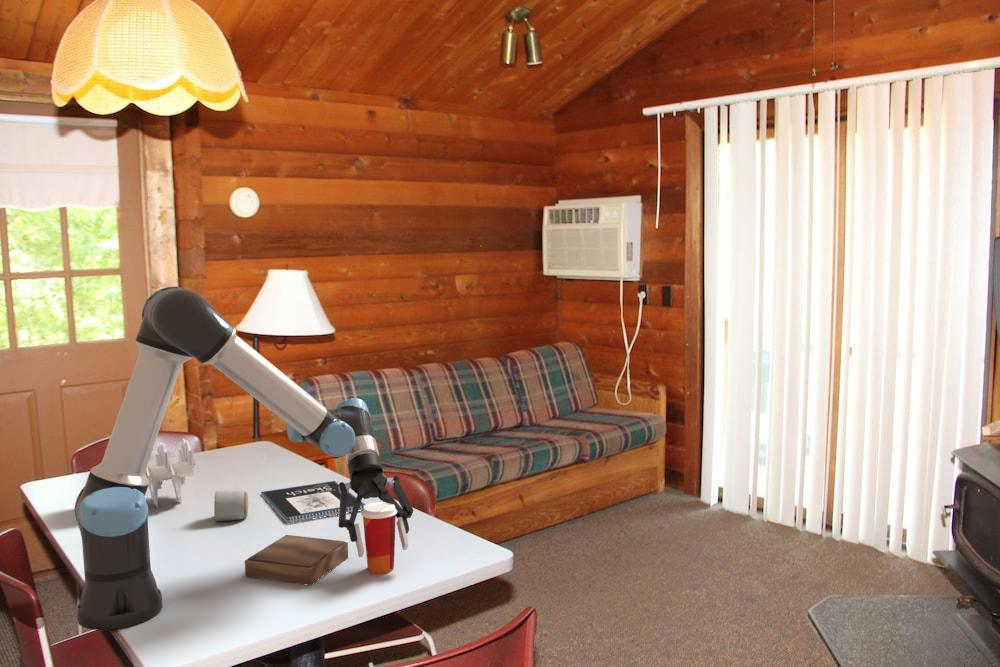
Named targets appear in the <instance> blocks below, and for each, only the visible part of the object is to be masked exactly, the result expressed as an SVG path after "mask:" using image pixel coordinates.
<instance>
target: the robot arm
mask: <svg viewBox="0 0 1000 667" xmlns="http://www.w3.org/2000/svg"><path fill="white" fill-rule="evenodd" d="M144 302H145V303H144V304H143V307H142V309H141V324H140V326H139V329H138V332H137V335H136V338H135V341H134V343H135V345H136V346H137V348H138V350H139V351H138V352H139V353H138V356H137V359H136V362H135V364H134V369H133V371H132V374H131V376H130V380H129V381H128V384H127V388H126V391H125V395H124V397H123V400H122V402H121V405H120V407H119V408H120V409H119V411H118V414H117V417H116V420H115V423H114V425H113V429H112V432H111V435H110V437H109V440H108V443H107V445H106V448H105V451H104V455H103V458H102V460H101V462H100V463H98V464H97V465H95V466H93V467H91V468H90V470H89V473H88V477H87V479H86V482H85V484H84V486H83V487H82V488H81V490H80V492H79V493H78V495H77V497H76V500H75V503H74V517H75V520H76V522H77V525H78V528H79V532H80V536H81V541H82V542H81V545H82V557H83V570H84V571H83V573H84V582H83V586H82V589H81V593H80V597H79V602H78V604H77V607H76V617H77V618H76V619H77V624H78V625H79V626H81V627H82V628H85V629H88V630H93V631H96V630H97V631H109V630H117V629H118V630H119V629H123V628H127V627H131V626H136V625H138V624H141V623H143V622H146V621H148V620H150V619H152V618H154V617H155V616H157V615H158V614H159V613H160V612H161V611H162V608H163V606H164V605H163V593H162V591H161V589H160V588H158V585H157V581H156V578H155V575H154V573H153V571H152V566H151V552H150V551H151V550H150V537H149V523H148V521H149V520H148V518H149V517H148V515H149V506H148V503H147V499H146V493H147V490H148V489H149V487H148V485H149V481H148V479H147V477H146V475H145V470H146V467H148V464H149V462H150V458H151V455H152V452H153V450H154V447H155V443H156V442H157V441H156V440H157V438H158V434H159V432H160V429H161V427H162V423H163V421H164V417H165V415H166V412H167V408H168V405H169V402H170V401H171V397H172V394H173V391H174V388H175V385H176V382H177V379H178V376H179V373H180V370H181V368H182V365H183V364H184V363H186V362H187V361H191V360H192V358H194V359H196V360H197V361H198V362H199V363H201V364H202V365H212V366H213V367H214V368H216V369H217V370H218V371H219V372H220V373H222V374H224V375H225V376H226V377H227V378H229V379H230V380H231V381H232V382H234V383H235V384H236V385H237V386H238V387H240V388H242V389H243V390H244V391H245V392H246V393H248V394H249V395H250V396H251V397H253V398H254V399H256V400H257V401H258V402H259V403H261V404H262V405H263V406H265V407H266V409H268V410H269V411H271V412H272V413H274V414H275V415H276V416H277V417H278V418H280V420H282V421H284V422H285V423H286V432H287V433H286V434H287V436H288V439H289V441H291V442H292V443H293V442H294V443H295V442H296V443H310V444H312V445H313V446H315V447H316V448H318V449H319V450H320V451H321V452H323V453H325V455H327V456H331V457H334V458H338V457H343V456H345V460H346V464H347V469H348V476H349V480H350V481H349V482H346V483H345V482H343V481H342V482H339V483H338V484H339V487H338V492H339V495H340V509H339V516H338V527H339V528H341V529H342V528H346V530H347V531H348V533H349V540H350V541H351V543H354V542H355V546H356V550H357V556H358V558H362V557H363V556H364V553H365V549H364V543H363V539H362V533H361V530H360V524H359V523H355V522H356V518H357V516H358V513H359V512H358V510H359V507H360V504H361V502H362V500H363V499H364V500H369V499H370V498H372V499H374V498H378V499H379V500H380V502H386V503H390V504H392V505H393V504H394V506H395V509H396V510H397V513H396V518H397V521H396V527H397V531H398V535H399V538H400V542H401V548H402V550H403V551H406V550H407V549H408V547H409V544H410V543H409V539H408V536H407V535H408V534H409V531H410V526H409V522H408V519H410V518H412V516H413V513H414V509H413V507H412V505H411V502H410V500H409V499H408V497H407V494H405V491H404V489H403V488H402V486H401V484H400V483H401V482H400V476H399V475H394V476H393V477H387V476H386V475H385V472H384V470H383V465H382V462H381V458H380V457H381V456H380V452H379V449H378V444H377V441H376V437H375V432H374V429H373V425H372V424H373V423H372V416H371V414H370V411H369V408H368V406H367V405H368V404H366V402H365V401H364V400H362V398H361V399H360V398H356V397H351V398H349V399H344V400H341V401H340V402H339V403H338V404H337V405H336V406H335V408H326V407H325V406H324V405H323V404H322V403H321V402H319V400H317V399H315V397H313V396H312V395H311V394H309V392H307V391H306V390H305V389H304V388H302V387H301V386H299V385H298V384H297V383H296V382H295V381H294V380H292V378H290V377H288V376H287V375H286V374H285V373H284V372H283V371H281V370H280V369H279V368H277V367H276V366H275V365H273V363H271V362H270V361H269V360H268V359H267V358H265V357H264V356H263V355H261V353H259V352H258V351H257V350H256V349H254V348H253V347H252V346H250V345H249V344H248V343H247V342H246V341H244V340H243V339H242V338H240V336H238V335H237V329H236V327H235V325H233V324H232V323H230V322H229V321H228V320H227V319H226V318H225V317H223V315H222V314H221V313H220V312H219V311H217V309H216V308H214V306H213V305H212V304H211V303H210V302H208V300H207V299H206V298H205V297H204V296H202V294H199V293H197V292H196V291H193V290H191V289H187V288H184V287H181V286H180V287H179V286H166V287H162V288H160V289H158V290H156V291H155V292H153V293H152V294H151V295H150V296H149V297H148V298H147V299H146V300H145V301H144ZM387 484H388V485H389V487H390V488H391V489H392V491H393V494H394V496H395V497H396V499H397V501H398V502H397V501H396V500H395V498H393V496H392V495H391V494H390V492H389V491H388V489H387V488H386V485H387ZM350 490H352V491H353V492H354V493H355V494H356V501H355V504H354V507H353V510H352V513H350V517H349V519H347V518H346V517H347V514H346V504H347V493H348V492H350Z"/></svg>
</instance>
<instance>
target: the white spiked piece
mask: <svg viewBox="0 0 1000 667" xmlns="http://www.w3.org/2000/svg"><path fill="white" fill-rule="evenodd" d="M156 453H157V454H156ZM156 453H155V465H156V466H154V467H149V466H147V467H146V470H145V475H146V477H147V479H148V481H149V485H148V489H149V491H150V496H151V501H152V502H153V506H155V507H157V508H159V500H158V497H159V495H158V490H159V489H162V485H163V481H168V480H171V483H172V486H173V488H174V493H175V498H176V499H177V502H178V503H179V504H180V503H181V504H182V493H181V492H182V485H186V484H185V483H186V482H185V481H186V477H190V476H191V477H192V476H194V474H195V473H194V468H195V466H196V458H195V454H194V449H191V447H190V442H189V440H188V439H185V438H182V442H180V443H179V449H178V461H177V462H176V463H172V462H171V457H170V452H169V450H167V449H166V444H165V441H164V442H161V441H160V442H159V443H158V445H157V447H156Z"/></svg>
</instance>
